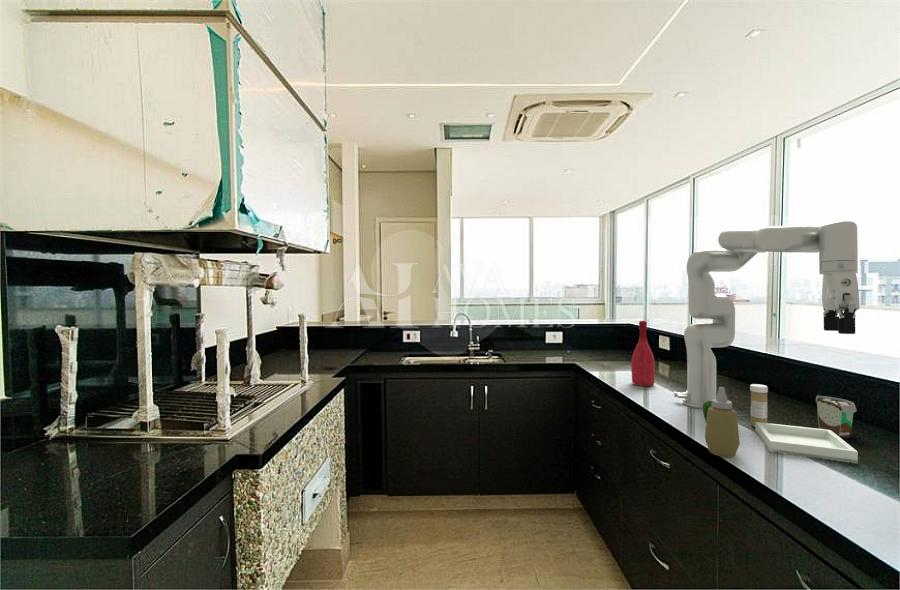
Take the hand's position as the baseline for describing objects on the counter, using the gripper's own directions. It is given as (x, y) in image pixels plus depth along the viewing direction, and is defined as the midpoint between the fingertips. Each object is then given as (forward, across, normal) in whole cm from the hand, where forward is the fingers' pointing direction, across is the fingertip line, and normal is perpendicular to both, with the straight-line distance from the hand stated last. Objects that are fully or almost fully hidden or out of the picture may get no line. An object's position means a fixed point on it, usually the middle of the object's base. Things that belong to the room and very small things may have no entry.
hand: (838, 332), depth 110 cm
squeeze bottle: (+33, -12, +28) cm, 45 cm away
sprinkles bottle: (+33, +19, +14) cm, 40 cm away
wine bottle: (+32, +69, +49) cm, 90 cm away
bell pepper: (+33, +12, +26) cm, 44 cm away
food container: (+33, +22, -7) cm, 40 cm away
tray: (+33, +4, +7) cm, 34 cm away
